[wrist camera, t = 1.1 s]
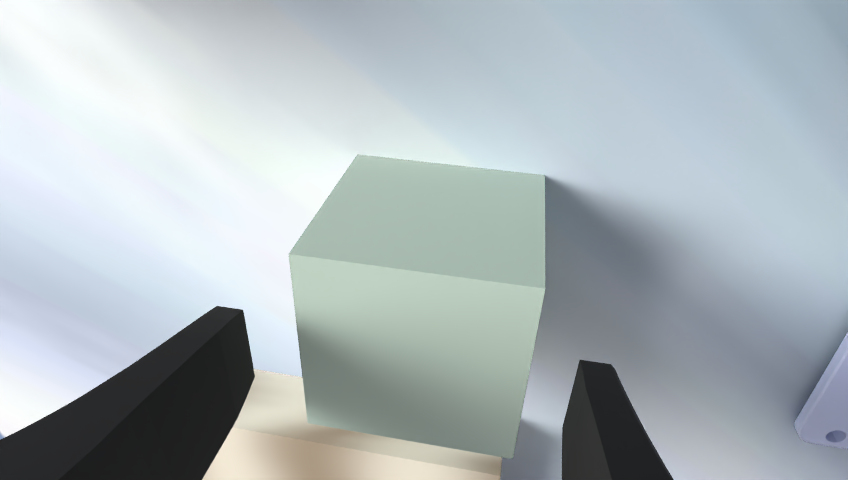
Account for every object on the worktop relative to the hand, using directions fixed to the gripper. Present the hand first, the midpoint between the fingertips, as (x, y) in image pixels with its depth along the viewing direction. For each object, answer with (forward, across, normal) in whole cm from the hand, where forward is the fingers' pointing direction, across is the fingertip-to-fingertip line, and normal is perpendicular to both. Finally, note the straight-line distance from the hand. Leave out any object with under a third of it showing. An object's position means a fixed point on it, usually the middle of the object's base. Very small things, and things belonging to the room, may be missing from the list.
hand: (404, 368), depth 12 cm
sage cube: (+5, 0, 0) cm, 5 cm away
